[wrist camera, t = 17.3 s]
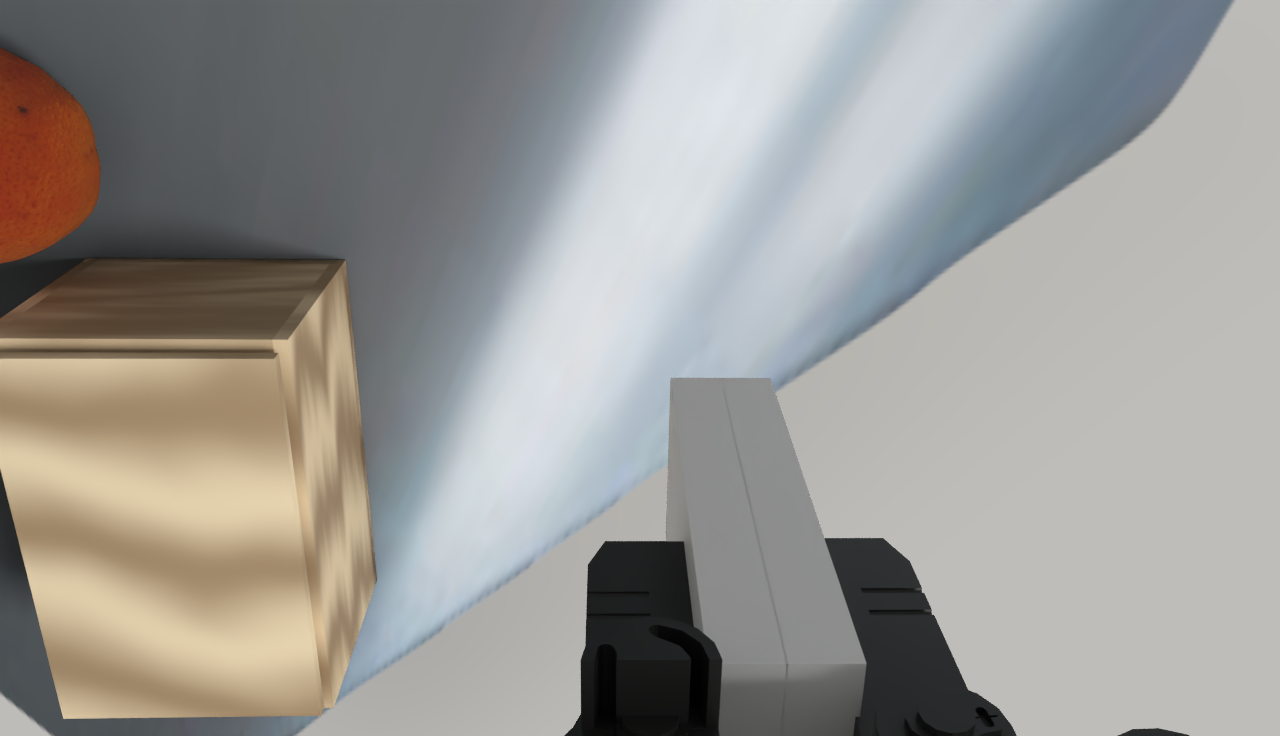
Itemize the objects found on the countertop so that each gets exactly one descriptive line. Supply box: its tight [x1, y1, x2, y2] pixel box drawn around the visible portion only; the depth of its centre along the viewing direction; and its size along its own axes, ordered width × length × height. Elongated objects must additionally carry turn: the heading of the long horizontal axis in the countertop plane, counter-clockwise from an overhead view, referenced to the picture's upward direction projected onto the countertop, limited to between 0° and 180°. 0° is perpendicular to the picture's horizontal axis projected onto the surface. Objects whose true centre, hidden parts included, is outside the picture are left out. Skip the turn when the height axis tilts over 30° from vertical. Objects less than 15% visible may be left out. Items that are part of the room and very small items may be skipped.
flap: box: [0, 353, 324, 719], centre depth 44 cm, size 17×11×1 cm, turn 179°
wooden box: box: [0, 258, 377, 708], centre depth 50 cm, size 18×12×10 cm, turn 179°
